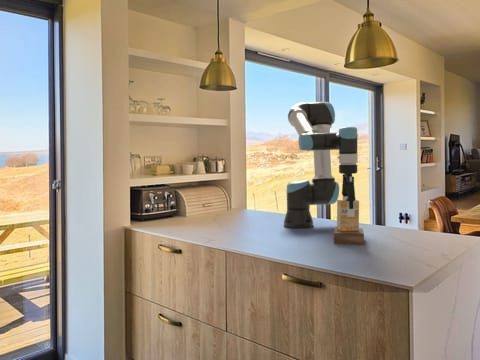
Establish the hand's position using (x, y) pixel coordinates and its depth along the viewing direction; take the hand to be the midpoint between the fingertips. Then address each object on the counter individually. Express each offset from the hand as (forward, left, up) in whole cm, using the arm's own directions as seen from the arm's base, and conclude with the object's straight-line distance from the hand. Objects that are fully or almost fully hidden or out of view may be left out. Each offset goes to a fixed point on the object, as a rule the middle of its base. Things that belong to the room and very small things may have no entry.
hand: (348, 213), depth 172 cm
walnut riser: (0, 0, -12) cm, 12 cm away
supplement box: (0, 0, -7) cm, 7 cm away
